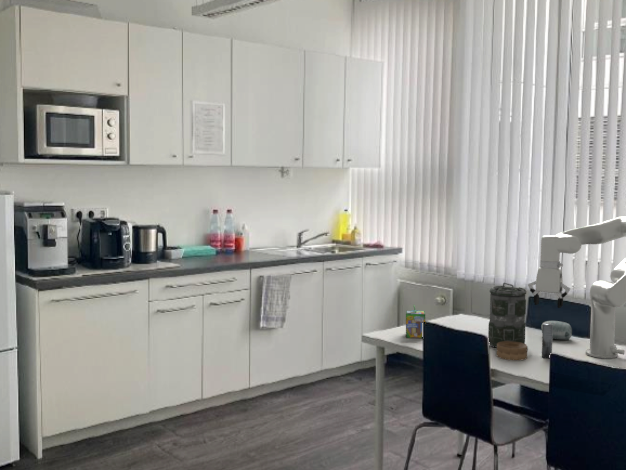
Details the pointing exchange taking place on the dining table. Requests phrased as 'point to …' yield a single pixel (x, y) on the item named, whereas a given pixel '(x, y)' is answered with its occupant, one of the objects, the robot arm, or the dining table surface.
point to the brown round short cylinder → (511, 350)
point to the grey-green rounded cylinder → (560, 330)
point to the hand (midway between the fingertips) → (548, 306)
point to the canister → (507, 314)
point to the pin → (547, 340)
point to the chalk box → (414, 323)
